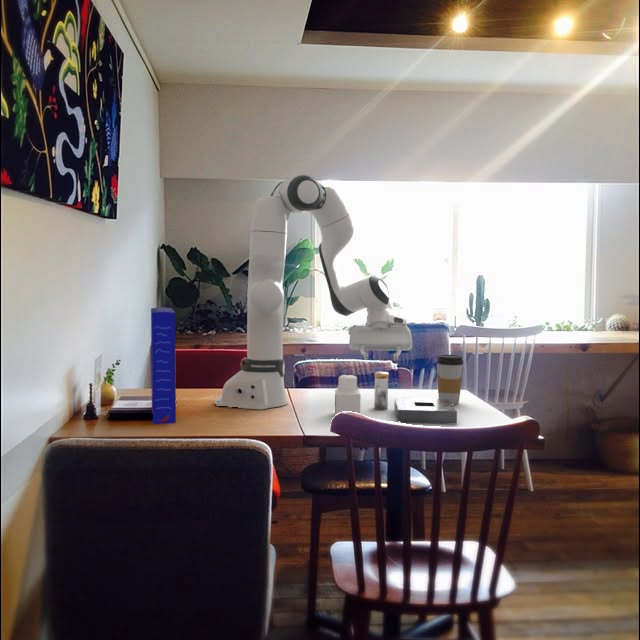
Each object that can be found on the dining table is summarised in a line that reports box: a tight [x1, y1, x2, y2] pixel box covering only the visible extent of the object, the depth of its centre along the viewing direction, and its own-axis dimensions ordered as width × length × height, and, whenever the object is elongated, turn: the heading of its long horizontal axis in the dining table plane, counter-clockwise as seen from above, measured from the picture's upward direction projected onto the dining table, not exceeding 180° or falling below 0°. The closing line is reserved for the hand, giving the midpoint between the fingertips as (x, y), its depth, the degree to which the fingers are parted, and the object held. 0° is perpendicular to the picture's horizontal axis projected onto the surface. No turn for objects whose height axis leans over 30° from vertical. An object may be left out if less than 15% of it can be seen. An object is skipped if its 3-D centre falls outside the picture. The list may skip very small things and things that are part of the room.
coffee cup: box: [436, 354, 464, 405], centre depth 194 cm, size 8×8×15 cm
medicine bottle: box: [334, 373, 362, 415], centre depth 174 cm, size 7×7×12 cm
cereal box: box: [150, 307, 177, 425], centre depth 172 cm, size 22×6×30 cm, turn 16°
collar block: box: [393, 397, 458, 424], centre depth 175 cm, size 16×16×4 cm
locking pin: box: [373, 371, 389, 411], centre depth 184 cm, size 4×4×11 cm
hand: (380, 359), depth 192 cm, fingers open, 8 cm apart
